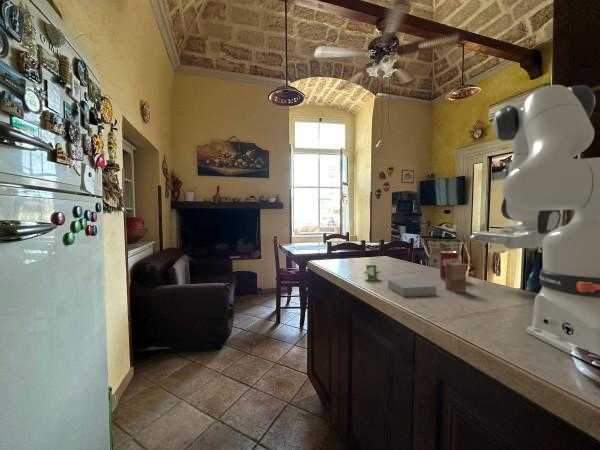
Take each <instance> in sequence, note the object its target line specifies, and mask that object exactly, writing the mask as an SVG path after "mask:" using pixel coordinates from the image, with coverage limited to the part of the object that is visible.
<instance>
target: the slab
mask: <svg viewBox="0 0 600 450" xmlns="http://www.w3.org/2000/svg"><path fill="white" fill-rule="evenodd" d="M387 282H388V284H387V286H388V287H387V288H388V289H390V290H392V291H393V292H395V293H397V294H398V295H400V296H402V297H423V296H437V286H436V285H434V284H431V283H429V282H426V281H424V280H421V279H419V278H405V279H403V278H402V279H401V278H400V279H388V281H387Z"/></svg>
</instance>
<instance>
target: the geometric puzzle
mask: <svg viewBox="0 0 600 450" xmlns="http://www.w3.org/2000/svg"><path fill="white" fill-rule="evenodd" d="M365 267H366V269H364V272H363V273H362V274H364V276H365V277H366V280H367V281H378V280H379V277H378V276H379V275H380V273H381V270H380V271H379V270H378V266H377V265H376V264H366V265H365Z"/></svg>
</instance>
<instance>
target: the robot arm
mask: <svg viewBox="0 0 600 450" xmlns="http://www.w3.org/2000/svg"><path fill="white" fill-rule="evenodd" d="M595 106H596V97H595V94H594V92H593V90H592V89H591V87H589V86H588V85H585V84H582V85H581V84H580V85H573V86H568V87H566V86H564V85H561V84H550V85H546V86H543V87H540V88H538V89H537V90H534V92H532V93H531V94H529V96H528V97H527V98H526V99H523V100H521V101H518V102H516V103H513V104H511V105H510V104H509V105H506V106H504V107H502V108H500V109H498V110H497V111H496V112H495V114H494V117H493V120H492V124H491V125H492V126H491V127H492V132H493V133H494V135H495V136H496V137H497V139H498V140H499V141H502V142H503V141H505V142H506V141H507V142H508V141H513V142H512V147H513V150H512V151H513V158H512V160H511V161H510V162H509V163H508V165H507V167H506V170H505V178H504V180H503V183H502V196H503V200H502V203H501V206H500V212H501V214H502V216H503V217H504V218H505V219H507V220H511V221H516V222H519V223H521V224H517V225H507V226H503V227H502V228H501V230H500V231H492V230H491V231H489V230H487V231H473V232H472V235H470V236H469V240H470V241H471V242H473V241H474V242H481V243H487V244H488V243H489V244H494V245H495V244H496V245H502V246H504V247H505V248H506V249H509V250H510V249H511V250H515V249H516V250H517V249H538V247H542V268H541V269H540V270H539V271H540V272H539V273H540V274H539V284H540V285H541V289H540V290H539V292H538V294H537V295H536V296H535V298H534V305H533V313H532V314H533V315H532V323H531V325H530V326H527V327H526V333H528V334H529V335H531V336H532V337H535V338H537V339H539V340H541V341H542V342H544V343H547V344H549V345H551V346H553V347H555V348H557V349H559V350H560V351H563V352H565V353H566V354H568V355H571V352H572V351H573V349H572V348H573V347H579V348H582V349H585V350H588V351H589V352H591V353H594V354H597V355H599V356H600V156H599V157H591V158H590V157H589V158H588V157H587V158H576V156H578V155H580V154H582V152H583V153H584V151H586V150H587V149H588V148H589V147H590V145H591V144H592V142H593V141H594V139H595V133H596V132H595V129H594V127H593V125H592V122H591V120H590V117H591V116H592V115H593V113H594V109H595ZM570 210H572V211H573V210H574V214H573V217H572V219H571V220H570V221H569V222H568V223H567V224H566V225H562V226H560V227H558V226H559V225H560V221H561V219H562V214H561V211H570ZM571 356H572V355H571Z"/></svg>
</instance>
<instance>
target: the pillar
mask: <svg viewBox="0 0 600 450" xmlns="http://www.w3.org/2000/svg"><path fill="white" fill-rule="evenodd" d="M445 264H446V280H445V290H446V291H449V292H452V293H467V290H466V289H467V287H466V286H467V283H466V281H467V280H466V279H467V276H466V270H467V269H466V265H467V264H466V263H462V262H461V263H460V262H459V263H457V262H454V263H445Z"/></svg>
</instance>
